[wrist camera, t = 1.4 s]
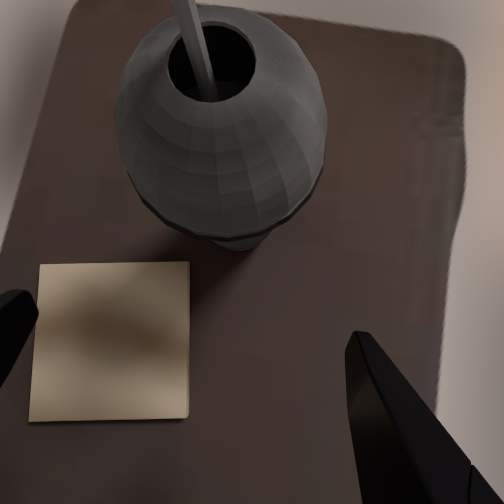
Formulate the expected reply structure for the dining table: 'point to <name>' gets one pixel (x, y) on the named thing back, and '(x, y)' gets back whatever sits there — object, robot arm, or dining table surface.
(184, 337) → the coaster board
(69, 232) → the dining table surface
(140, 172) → the beverage cup
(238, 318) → the dining table surface
